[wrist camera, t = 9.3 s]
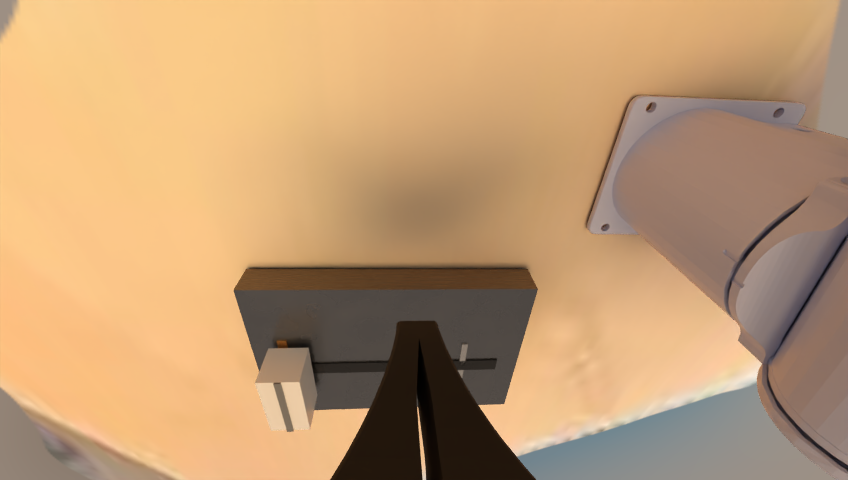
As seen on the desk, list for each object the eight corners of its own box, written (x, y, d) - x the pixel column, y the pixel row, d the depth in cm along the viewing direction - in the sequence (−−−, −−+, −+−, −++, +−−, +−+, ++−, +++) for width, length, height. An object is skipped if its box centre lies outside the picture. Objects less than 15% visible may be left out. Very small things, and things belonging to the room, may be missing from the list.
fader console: (527, 269, 23) (538, 290, 21) (498, 382, 30) (504, 405, 28) (246, 269, 22) (232, 291, 20) (279, 387, 28) (271, 412, 26)
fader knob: (308, 347, 22) (299, 383, 20) (317, 394, 25) (309, 430, 23) (268, 348, 22) (254, 384, 20) (281, 395, 25) (270, 432, 23)
